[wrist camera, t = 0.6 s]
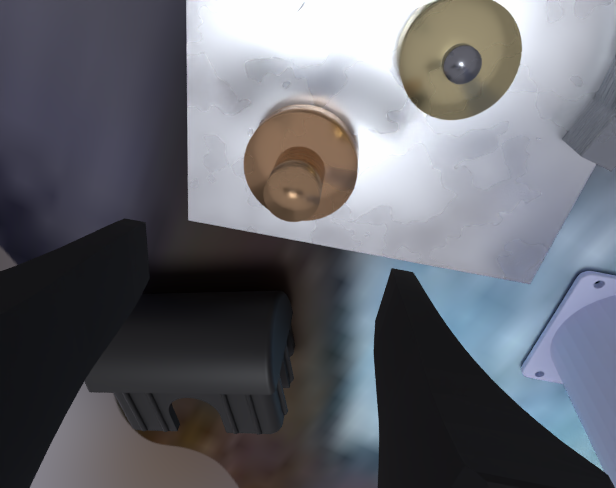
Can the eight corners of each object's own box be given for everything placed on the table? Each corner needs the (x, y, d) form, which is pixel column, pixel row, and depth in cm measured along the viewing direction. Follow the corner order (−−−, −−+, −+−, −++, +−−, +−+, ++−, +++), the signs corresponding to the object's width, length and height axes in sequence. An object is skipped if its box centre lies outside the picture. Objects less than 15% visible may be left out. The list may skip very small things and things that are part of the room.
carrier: (822, -290, 12) (995, -387, 9) (524, 272, 23) (550, 324, 20) (195, -390, 12) (131, -521, 9) (194, 211, 23) (165, 251, 20)
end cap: (287, 261, 25) (263, 349, 19) (303, 350, 28) (287, 445, 23) (126, 267, 26) (60, 349, 21) (161, 350, 30) (114, 439, 24)
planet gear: (368, 115, 19) (370, 147, 15) (346, 215, 21) (342, 261, 18) (255, 94, 19) (231, 121, 15) (246, 196, 21) (224, 239, 18)
